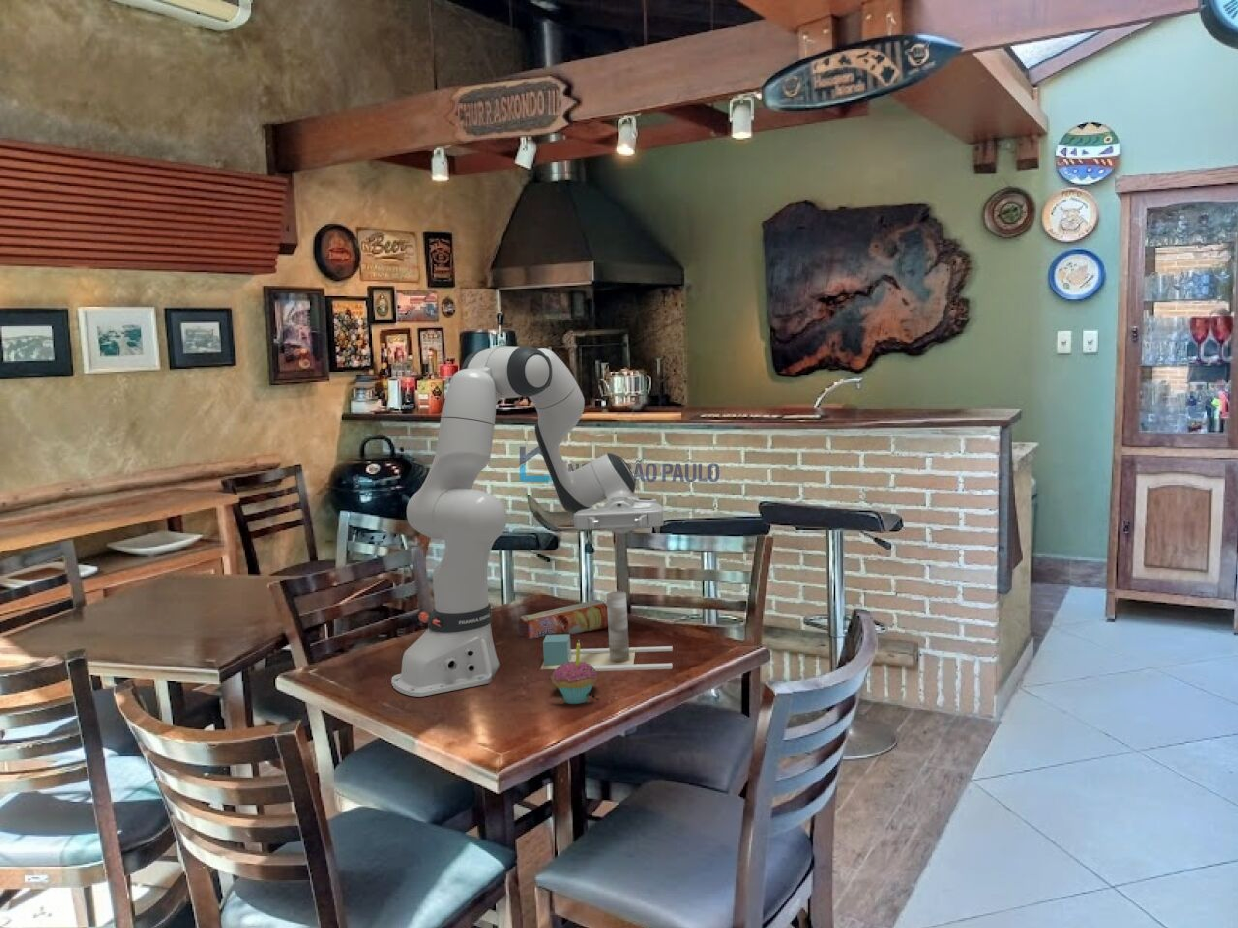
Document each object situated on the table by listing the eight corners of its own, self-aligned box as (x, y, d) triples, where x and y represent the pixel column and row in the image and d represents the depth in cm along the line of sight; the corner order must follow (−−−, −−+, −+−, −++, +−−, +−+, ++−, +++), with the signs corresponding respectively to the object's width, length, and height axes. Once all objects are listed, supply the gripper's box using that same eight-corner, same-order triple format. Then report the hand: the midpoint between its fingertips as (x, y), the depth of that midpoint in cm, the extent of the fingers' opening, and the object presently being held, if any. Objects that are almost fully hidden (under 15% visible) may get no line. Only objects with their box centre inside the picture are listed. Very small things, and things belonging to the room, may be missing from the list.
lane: (673, 655, 195) (672, 645, 195) (672, 675, 182) (672, 665, 182) (566, 658, 196) (566, 649, 196) (558, 678, 184) (558, 669, 183)
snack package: (528, 646, 207) (527, 617, 206) (517, 639, 213) (515, 611, 212) (610, 629, 217) (609, 602, 216) (598, 623, 223) (596, 596, 222)
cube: (571, 657, 192) (569, 634, 192) (568, 665, 187) (566, 641, 187) (547, 658, 193) (546, 635, 192) (544, 665, 188) (542, 642, 187)
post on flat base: (635, 657, 193) (631, 587, 192) (633, 671, 184) (629, 598, 183) (546, 660, 195) (542, 591, 193) (540, 674, 186) (536, 602, 184)
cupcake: (607, 697, 172) (604, 636, 170) (574, 711, 166) (570, 647, 164) (576, 688, 178) (573, 628, 176) (543, 701, 172) (539, 639, 170)
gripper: (575, 502, 212) (568, 511, 199) (663, 498, 211) (662, 507, 197) (577, 528, 213) (570, 540, 199) (664, 525, 212) (663, 536, 198)
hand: (616, 523), depth 198 cm, fingers open, 8 cm apart
